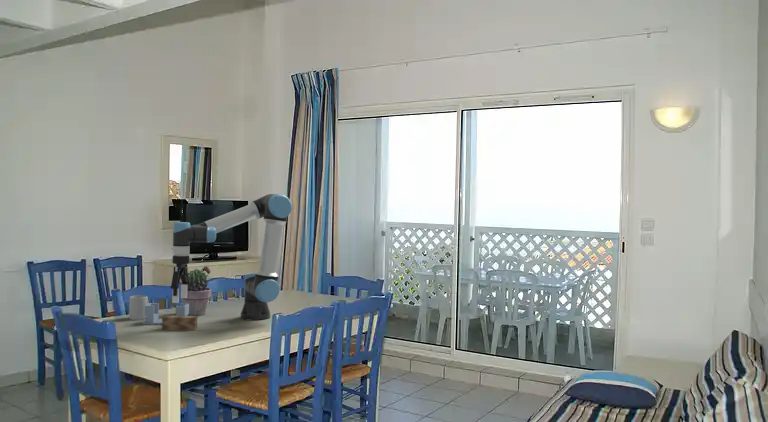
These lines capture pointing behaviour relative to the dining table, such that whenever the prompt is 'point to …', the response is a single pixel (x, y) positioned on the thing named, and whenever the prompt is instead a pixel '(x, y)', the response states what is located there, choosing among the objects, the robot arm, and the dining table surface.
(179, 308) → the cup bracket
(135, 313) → the mug
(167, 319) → the tapered block
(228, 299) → the dining table surface
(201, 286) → the potted plant
